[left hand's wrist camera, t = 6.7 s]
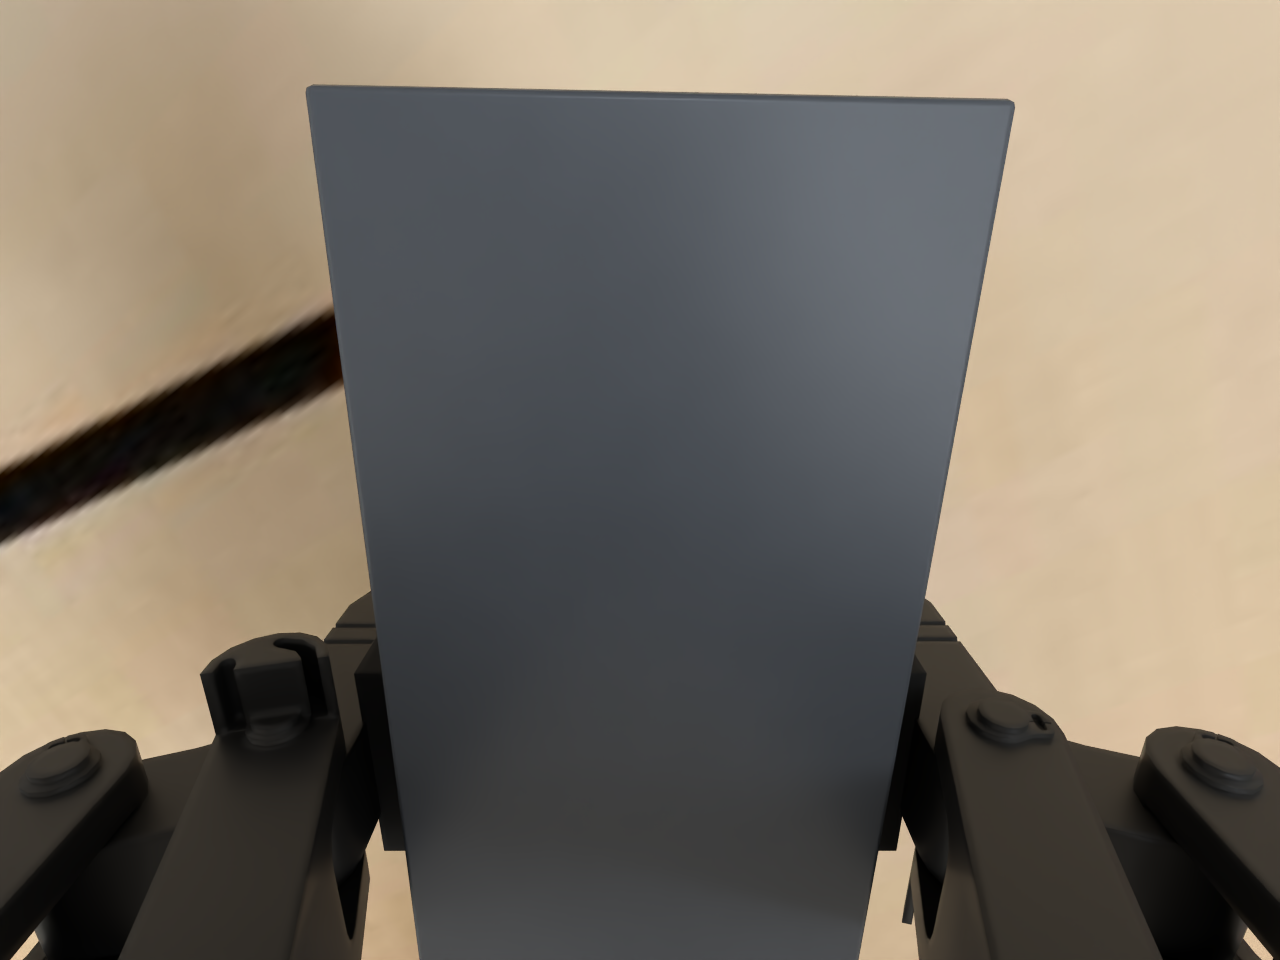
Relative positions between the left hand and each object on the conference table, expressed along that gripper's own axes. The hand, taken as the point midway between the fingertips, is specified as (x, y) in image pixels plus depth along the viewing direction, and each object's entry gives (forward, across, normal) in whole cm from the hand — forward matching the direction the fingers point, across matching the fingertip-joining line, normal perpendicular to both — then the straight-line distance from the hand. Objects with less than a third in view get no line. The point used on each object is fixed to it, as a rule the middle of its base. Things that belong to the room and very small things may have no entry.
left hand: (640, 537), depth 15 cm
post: (+1, 0, -26) cm, 26 cm away
